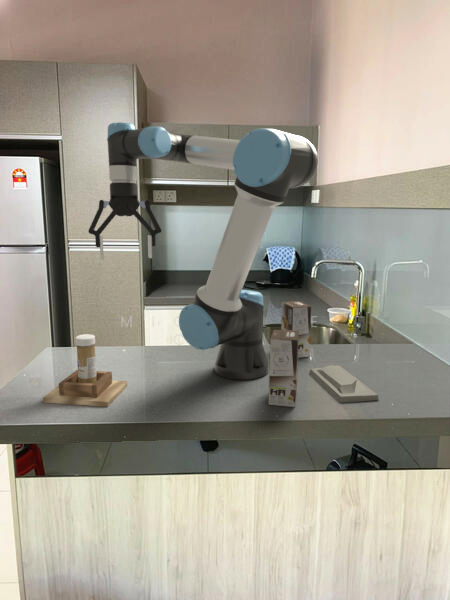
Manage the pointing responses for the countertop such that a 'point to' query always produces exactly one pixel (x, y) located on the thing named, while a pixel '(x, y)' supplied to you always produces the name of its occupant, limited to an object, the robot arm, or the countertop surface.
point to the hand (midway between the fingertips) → (126, 258)
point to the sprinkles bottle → (86, 358)
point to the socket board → (86, 390)
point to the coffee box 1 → (298, 323)
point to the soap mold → (342, 384)
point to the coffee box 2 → (283, 367)
